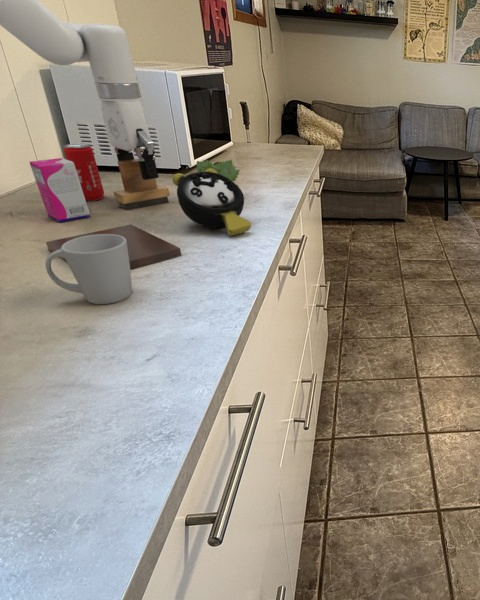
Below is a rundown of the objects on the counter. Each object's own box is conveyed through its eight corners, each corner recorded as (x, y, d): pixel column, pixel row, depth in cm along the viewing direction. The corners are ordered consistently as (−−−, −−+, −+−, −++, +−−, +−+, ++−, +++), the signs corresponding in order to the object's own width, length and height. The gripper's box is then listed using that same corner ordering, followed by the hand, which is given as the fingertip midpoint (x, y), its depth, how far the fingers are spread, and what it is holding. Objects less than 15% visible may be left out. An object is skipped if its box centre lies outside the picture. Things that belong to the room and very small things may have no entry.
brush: (125, 210, 104) (114, 165, 100) (117, 206, 106) (105, 161, 102) (171, 202, 112) (162, 159, 107) (162, 198, 114) (153, 156, 109)
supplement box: (79, 211, 102) (63, 157, 97) (91, 217, 99) (75, 162, 94) (47, 216, 98) (28, 160, 93) (58, 223, 95) (39, 165, 90)
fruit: (237, 202, 125) (240, 204, 112) (191, 198, 120) (189, 199, 107) (238, 163, 123) (241, 160, 110) (192, 156, 118) (190, 152, 105)
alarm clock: (197, 256, 94) (147, 188, 88) (218, 233, 107) (176, 172, 100) (250, 233, 94) (204, 162, 87) (264, 213, 107) (226, 150, 100)
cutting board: (94, 279, 75) (91, 270, 74) (48, 249, 84) (45, 241, 83) (181, 255, 85) (180, 247, 85) (132, 231, 94) (130, 224, 93)
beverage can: (105, 200, 110) (91, 147, 104) (78, 202, 107) (62, 147, 102) (105, 194, 114) (91, 142, 108) (78, 196, 111) (62, 143, 105)
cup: (138, 303, 69) (123, 249, 65) (53, 314, 65) (32, 257, 61) (141, 282, 75) (128, 231, 71) (63, 291, 71) (45, 238, 67)
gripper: (80, 88, 100) (103, 170, 108) (119, 97, 91) (141, 185, 99) (118, 88, 105) (138, 165, 113) (159, 95, 97) (176, 179, 105)
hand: (139, 174), depth 106 cm, fingers open, 9 cm apart
